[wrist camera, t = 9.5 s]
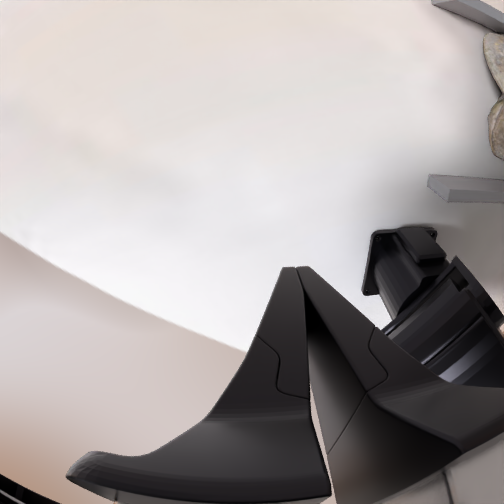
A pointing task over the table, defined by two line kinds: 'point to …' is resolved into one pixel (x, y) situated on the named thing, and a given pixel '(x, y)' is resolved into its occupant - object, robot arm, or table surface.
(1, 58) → the table surface
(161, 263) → the table surface
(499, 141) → the fossilized seashell
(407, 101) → the table surface
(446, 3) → the box
